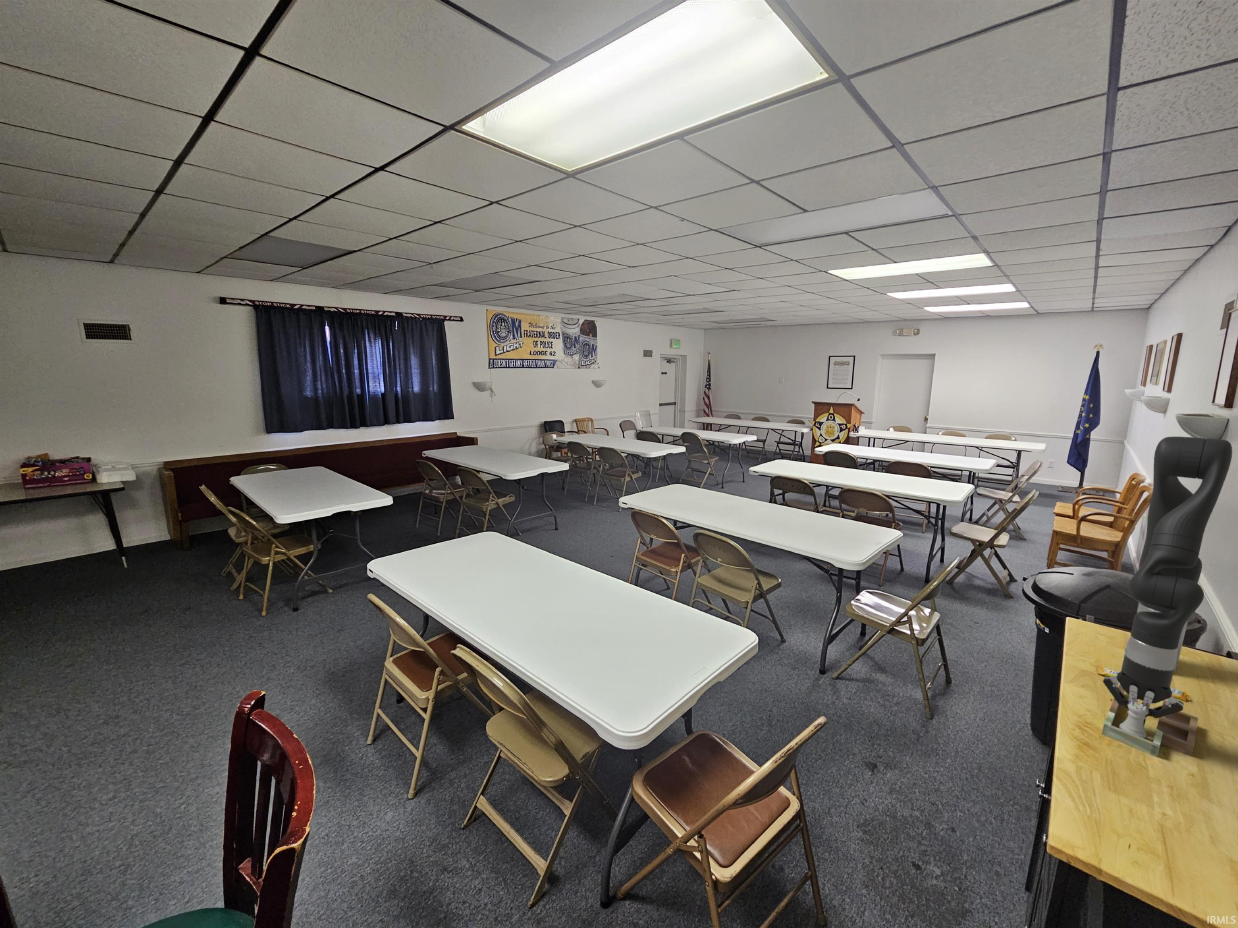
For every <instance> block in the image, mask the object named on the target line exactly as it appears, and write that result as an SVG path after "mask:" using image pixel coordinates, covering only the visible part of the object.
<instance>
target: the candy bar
mask: <svg viewBox="0 0 1238 928" xmlns="http://www.w3.org/2000/svg"><path fill="white" fill-rule="evenodd" d="M1096 665H1097V666H1096V669H1095V672H1096V673H1097V674H1098V675H1102V676H1104V677H1105V676H1110V677H1114V676H1117V674H1118V673H1119V672H1120V671H1118V670H1115V669H1114V670H1113V669H1112V668H1111V669H1110V668H1106V667H1102V666H1101V665H1098V664H1096ZM1170 689H1171V691H1172V696H1173V697H1174V698H1175V699H1177V700H1178V701H1182V702H1187V701H1190V700H1191V698H1190V696H1189V695H1188V693H1187V691H1186V690H1184V691H1182V690H1178V689H1175V688H1171V687H1170Z"/></svg>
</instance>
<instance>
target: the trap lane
mask: <svg viewBox="0 0 1238 928" xmlns="http://www.w3.org/2000/svg"><path fill="white" fill-rule="evenodd" d="M1118 688H1119V689H1120V690H1121V692H1122V693H1123V695H1124V696H1125V694H1124V693H1125V691H1124V689H1123V688H1122V686H1121V685H1120V684H1119V685H1118ZM1166 701H1167V699H1166V700H1163V701H1162V705H1165V704H1166ZM1162 705H1161V706H1162ZM1119 708H1120V705H1119V704H1118V702H1117V701H1116V700H1115V698H1114V697H1113V700H1112V703H1111V706H1110V708H1109V710H1108V713H1107V715H1106V718H1105V720H1104V723H1103V726H1102V730H1101V735H1104V736H1106V737H1108V738H1111V739H1114V740H1115V741H1118V742H1119V743H1123V744H1126V745H1127V746H1130V747H1132V748H1134V749H1137V750H1140V751H1142V752H1144V753H1147V754H1149V755H1151V756H1153V757H1156V758H1158V755H1159V751H1160V747H1161V745H1163V746H1164V747H1168V748H1170V749H1171V750H1175V751H1177V752H1179V753H1183V754H1185V755H1187V756H1189V757H1192V756H1193V752H1194V748H1195V743H1196V742H1195V740H1196V734H1197V727H1198V720H1199V718H1198V717H1197V716H1195V715H1191V714H1188V713H1185V712H1183V711H1179V712H1176V713H1173V714H1170V715H1167V716H1163V717H1160V718H1158V721H1157V725H1156V730H1155V733H1154V736H1153V741H1151V740H1150V739H1149V740H1148V739H1147V738H1146V739H1147V740H1146V739H1144V738H1141V737H1139V736H1136V735H1134V734H1131V733H1129V732H1126V731H1124V730H1121V729H1119V728H1120V727H1116V726H1115V725H1113V724H1114V721H1115V718H1116V716H1117V713H1118V710H1119Z"/></svg>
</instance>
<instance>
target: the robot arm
mask: <svg viewBox="0 0 1238 928" xmlns="http://www.w3.org/2000/svg"><path fill="white" fill-rule="evenodd" d="M1153 455H1154V456H1153V480H1152V481H1153V486H1152V493H1151V499H1150V502H1149V506H1148V507H1149V508H1148V512H1147V518H1146V519H1147V520H1146V534H1145V535H1146V536H1145V541H1144V544H1143V547H1142V553H1141V555H1140V559H1139V563H1138V564H1139V565H1138V569H1137V571H1136V572H1135V573H1134V575H1132V577H1131V579H1130V580H1129V582H1128V588H1127V589H1128V592H1129V594H1130V596H1131V597H1132V598H1133V599H1134V600H1136V601H1138V606H1137V610H1136V613H1135V615H1134V617H1133V621H1132V626H1131V632H1130V635H1129V638H1128V640H1127V641H1126V646H1125V648H1124V655H1123V661H1122V665H1121V670H1120V671H1118V672H1119V673H1118V674H1117V676H1114V677H1110V676H1105V675H1104V677H1103V680H1102V683H1103V684H1104V686H1105V687H1106V688H1107V690H1108V692H1109V693H1110V695H1112V697H1113V699H1114V698H1115V700H1116V701H1117V702H1118V704H1119V706H1123V707H1125V708H1126V709H1127V714H1126V719H1127V717H1128V714H1129V713H1128V711H1129V710H1130V709H1129V707H1128V706H1127V705H1128V704H1130V703H1131V702H1132V701H1133V702H1134V703H1135V702H1138V703H1139V700H1140V701H1141V704H1143V705H1144V706H1146V707H1147V711H1148V712H1149V713H1148V714H1146V715H1145V717H1146V719H1144V726H1145V725H1146V721H1147V717H1152V718H1153V719H1159V718H1160V717H1163V716H1167V715H1170V714H1173V713H1176V712H1179V711H1181V712H1183V710H1184V706H1185V703H1184V701H1183V700H1179V699H1176V698H1174V697H1173V696H1172V691H1171V689H1170V688H1171V684H1172V680H1173V675H1174V674H1175V673H1176V671H1177V668H1178V664H1179V660H1180V655H1181V651H1182V646H1183V644H1184V643H1183V642H1184V639H1185V634H1186V630H1187V627H1188V621H1189V619H1190V618H1191V617H1192V615H1193V614H1194V613H1195V612H1196V610H1197V609H1198V608H1199V607H1200V606H1201V605H1202V603H1203V601H1204V598H1205V592H1204V590H1203V587H1202V586H1201V585H1200V584H1199V581H1200V577H1201V574H1202V570H1203V562H1202V560H1201V558H1200V557H1199V555H1200V551H1201V547H1202V542H1203V537H1204V534H1205V531H1206V527H1207V525H1208V522H1209V520H1210V518H1211V515H1212V513H1213V511H1214V508H1215V506H1216V504H1217V501H1218V499H1219V496H1220V494H1221V492H1222V489H1223V487H1224V483H1225V481H1226V478H1227V476H1228V472H1229V469H1230V467H1231V463H1232V458H1233V446H1232V444H1231V442H1230V441H1228V440H1227V439H1219V438H1207V437H1206V438H1205V437H1192V436H1190V437H1189V436H1167V437H1166V436H1165V437H1164V438H1162V439H1161V440H1160V441H1159V442H1158V443H1157V445H1156V447H1155V450H1154V454H1153ZM1179 478H1187V479H1194V480H1195V479H1197V480H1201V483H1200V485H1199V487H1198V488H1197V490H1195V492H1194V493H1193V492H1191V491H1190V490H1189V489H1188V488H1187V487H1186V486H1185V485H1184V484H1183V483H1182V482H1181V481H1180V480H1179ZM1119 685H1121V686H1122V688H1123V689H1124V693H1126V694H1127V695H1128V698H1127V697H1126V696H1125V694H1124V695H1123V693H1122V692H1121V690H1120V689H1119V688H1118V687H1119ZM1163 700H1166V704H1165V705H1160V706H1157V707H1154V708H1151V705H1152V704H1157V703H1161V702H1163ZM1126 719H1125V720H1126Z"/></svg>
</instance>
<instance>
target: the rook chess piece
mask: <svg viewBox="0 0 1238 928" xmlns="http://www.w3.org/2000/svg"><path fill="white" fill-rule="evenodd" d="M1127 706H1128V707H1129V709H1130V710H1129V711H1128V710H1127V713H1129V714H1128V717H1127V716H1126V718H1127V719H1125V720H1123V721H1122V723H1120V724H1119V726H1118V728H1119V729H1121V730H1124V731H1126V732H1129V733H1131V734H1134V735H1136V736H1139V737H1141V738H1144V739H1146V740H1148V739H1147V736H1148V733H1147V732H1146V729H1145V725H1144V719H1146V720H1147V717H1145V715H1146V714H1148V713H1149V712H1148V711H1147V707H1146V706H1144V705H1143V704H1142V703H1140V704H1139V701H1138V702H1135V703H1134V702H1133V701H1132V702H1131V703H1130V704H1128V705H1127Z"/></svg>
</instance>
